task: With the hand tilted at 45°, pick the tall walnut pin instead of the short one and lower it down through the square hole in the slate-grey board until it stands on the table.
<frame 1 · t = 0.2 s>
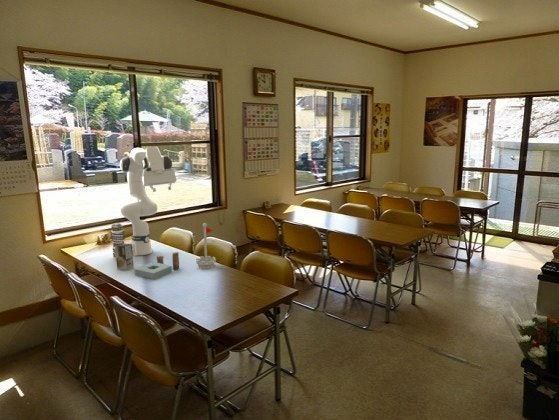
hand: (162, 190, 247), 54 cm above the table, tool tilted 30°, fingers open, 8 cm apart
short pin: (160, 265, 273), on the table
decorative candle: (119, 257, 292), on the table
bored board: (153, 273, 259), on the table
flag stand: (206, 266, 273), on the table
long pin: (176, 269, 267), on the table
coffee box: (125, 268, 270), on the table
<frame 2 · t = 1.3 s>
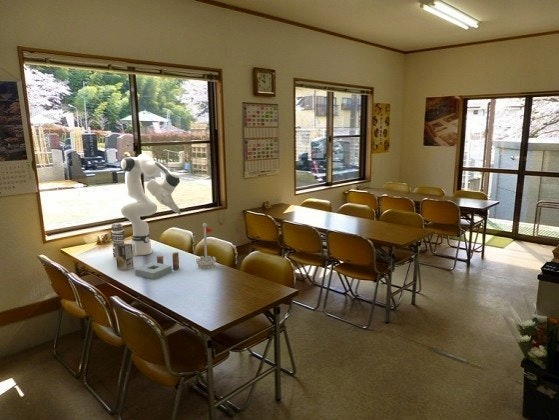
hand: (178, 211, 263), 38 cm above the table, tool tilted 55°, fingers open, 8 cm apart
nothing on the table moved.
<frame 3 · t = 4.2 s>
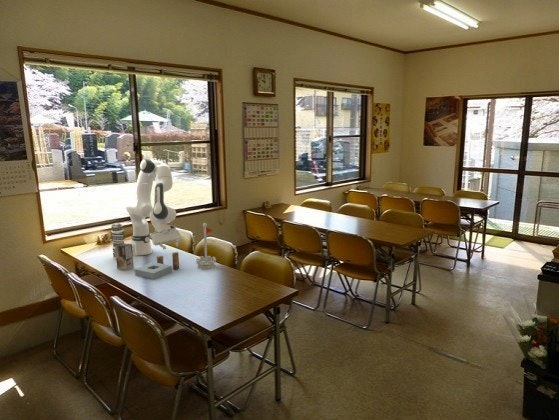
hand: (171, 247, 271), 13 cm above the table, tool tilted 45°, fingers open, 8 cm apart
nothing on the table moved.
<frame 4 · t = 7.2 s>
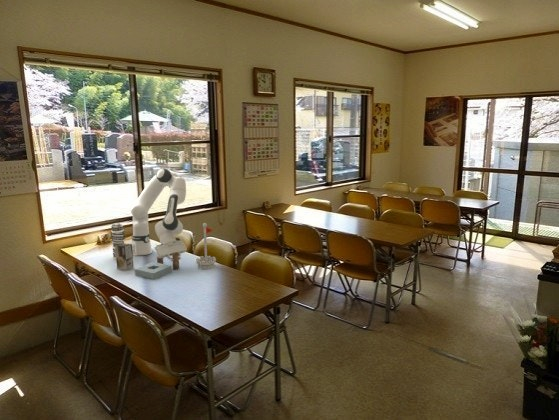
hand: (176, 260, 265), 6 cm above the table, tool tilted 45°, fingers closed on long pin, 4 cm apart
long pin: (176, 269, 267), on the table, touching gripper
everything else where it was.
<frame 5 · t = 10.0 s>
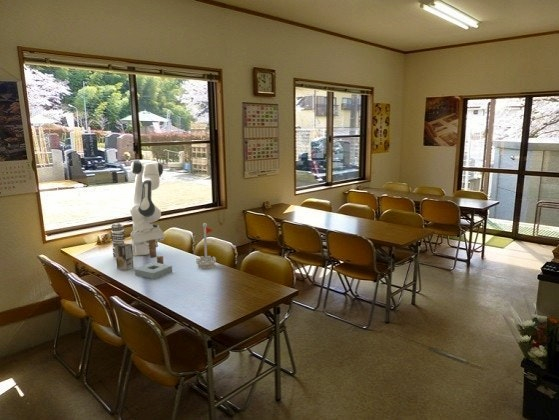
hand: (152, 247, 255), 17 cm above the table, tool tilted 45°, fingers closed on long pin, 4 cm apart
long pin: (153, 256, 257), point 11 cm above the table, touching gripper
everything else where it was.
when the fingers open (7 cm above the table, at t = 13.1 s): long pin drops 1 cm, resting in bored board.
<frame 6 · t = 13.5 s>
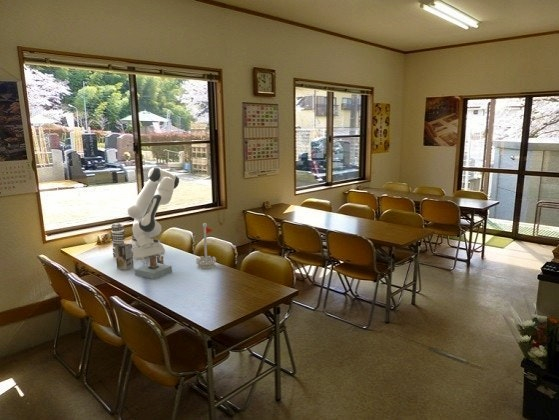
hand: (153, 262, 257), 7 cm above the table, tool tilted 45°, fingers open, 8 cm apart
long pin: (153, 273, 259), resting in bored board
everything else where it was.
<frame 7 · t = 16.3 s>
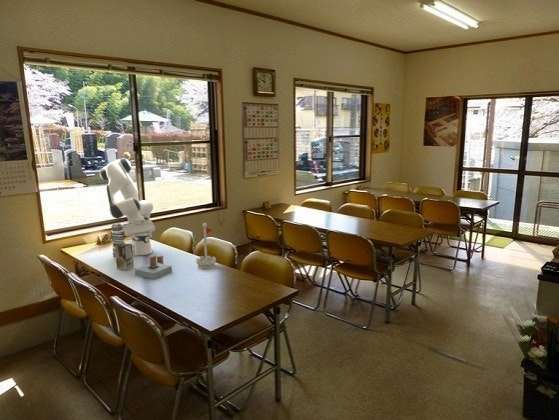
hand: (144, 238, 264), 20 cm above the table, tool tilted 45°, fingers open, 8 cm apart
nothing on the table moved.
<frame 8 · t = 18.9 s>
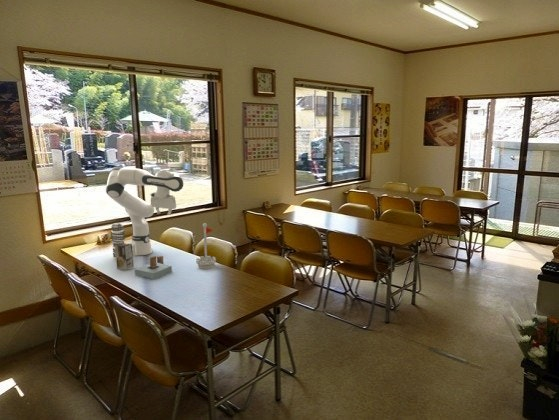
hand: (164, 214, 275), 34 cm above the table, tool pointing down, fingers open, 8 cm apart
nothing on the table moved.
at the end: long pin 0.0 cm off-centre on the bored board, point 0.0 cm above the bored board's base; long pin tilted 0°; short pin moved 0.0 cm from its start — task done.
